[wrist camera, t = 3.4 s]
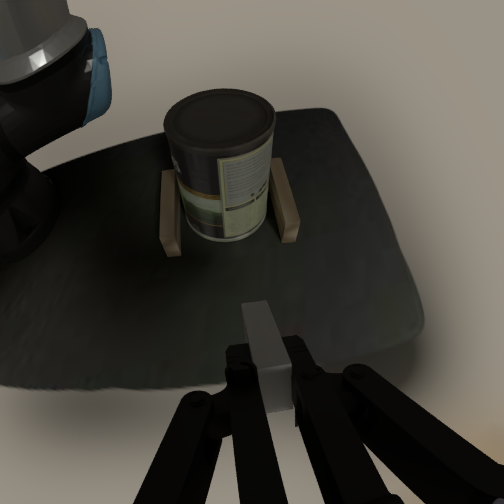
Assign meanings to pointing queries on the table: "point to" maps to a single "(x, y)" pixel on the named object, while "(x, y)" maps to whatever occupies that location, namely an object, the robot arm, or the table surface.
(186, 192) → the coffee can
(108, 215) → the table surface
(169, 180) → the chute
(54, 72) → the robot arm
